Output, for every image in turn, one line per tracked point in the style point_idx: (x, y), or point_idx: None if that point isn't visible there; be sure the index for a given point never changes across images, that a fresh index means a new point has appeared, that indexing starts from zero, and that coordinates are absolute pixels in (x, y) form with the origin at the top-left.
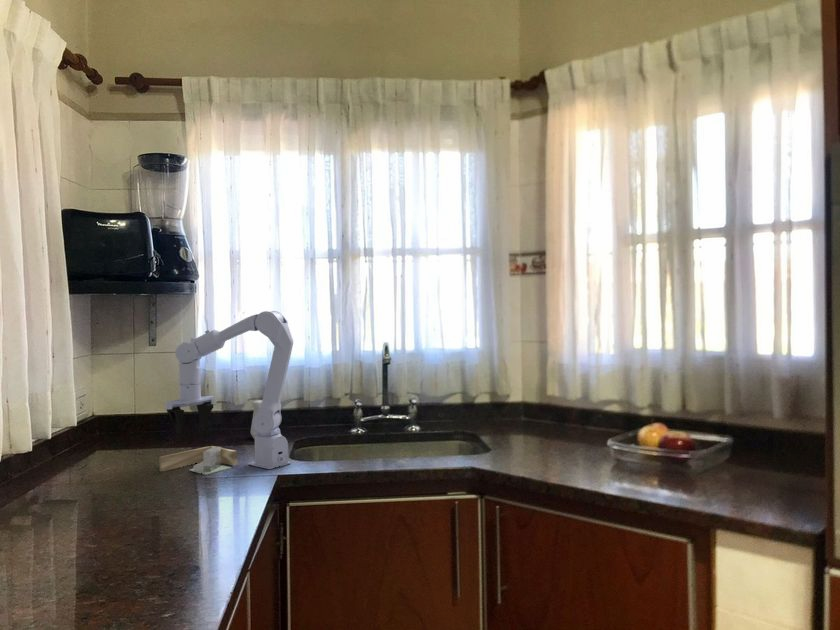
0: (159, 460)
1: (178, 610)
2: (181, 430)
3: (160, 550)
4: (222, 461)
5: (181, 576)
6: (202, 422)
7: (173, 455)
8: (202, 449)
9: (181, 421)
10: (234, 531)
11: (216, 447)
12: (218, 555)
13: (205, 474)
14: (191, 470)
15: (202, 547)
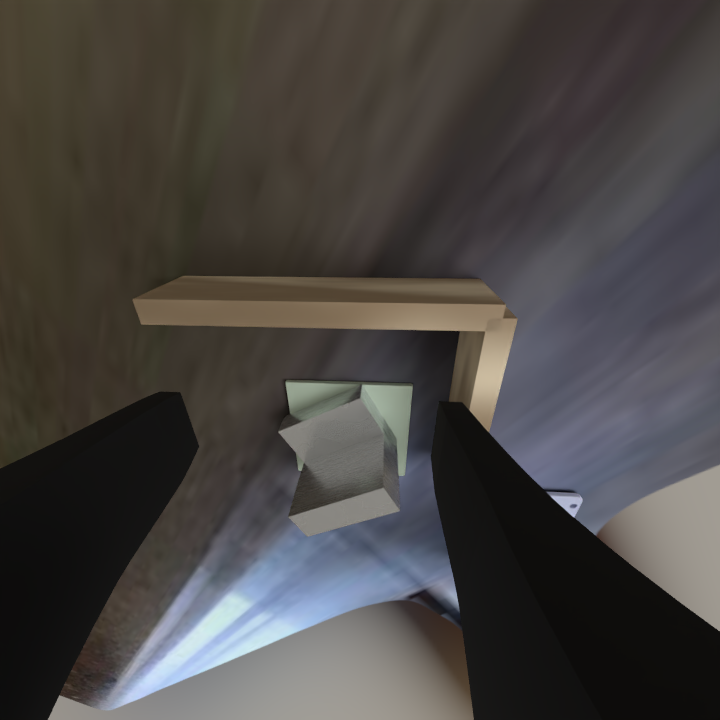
0: (147, 293)
1: (84, 698)
2: (175, 474)
3: (83, 648)
4: (451, 397)
5: (96, 680)
6: (449, 494)
7: (218, 325)
8: (423, 327)
9: (104, 582)
10: (182, 665)
11: (379, 507)
12: (141, 679)
13: (298, 466)
14: (288, 394)
15: (131, 665)
